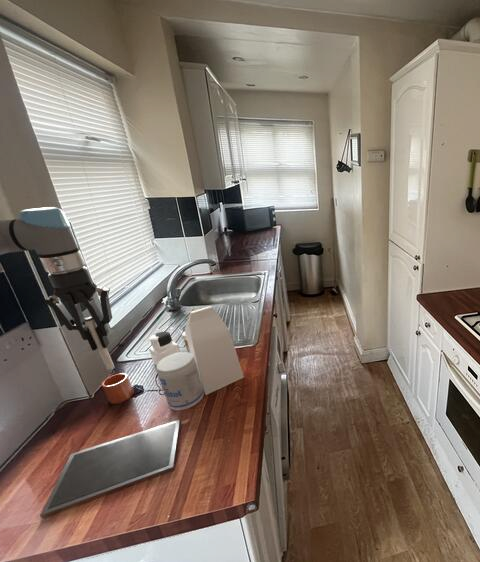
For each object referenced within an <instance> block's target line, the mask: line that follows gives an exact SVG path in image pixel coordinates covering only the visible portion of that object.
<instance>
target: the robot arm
mask: <svg viewBox="0 0 480 562" xmlns="http://www.w3.org/2000/svg"><path fill="white" fill-rule="evenodd" d="M18 216H19V218H16V219H15V218H14V219H1V220H0V256H3V255H5V254H10V253H17V252H29V251H35V253H36V254H37V256H38V258H39V260H40V262H41V265H42V266H43V269H44V271H45V272H46V273H48V274H47V278H48V279H49V282H50V284H51V286H52V288H53V290H54V291H53V295H50V296H48V297H47V298H46V299H44V300H43V302H44V304H46V305H47V306H48V307H50V308H51V309H52V310H53V311H54V313H55V315H57V317H58V318H59V320H60V321H61V322H62V324H63V325H64V326H65V328H66V329H67V330H68V331H78V332H79V334H80V336H81V339H82V340H83V341H87V342H88V344H89V347H90V349H91V351H92V352H93V351H94V352H95V351H96V350H98V349H97V347H96V344H95V342H94V340H93V338H92V336H91V333H90V331H89V329H88V327H87V324H86V322H85V320H84V319H85V316H84V313H83V310H82V307H81V304H83V306H84V307H86V309H87V311H88V312H89V314H90V317H92V318H93V319H94V321H95V323H96V325H97V326H96V327H95V331H96V333H97V335H98V337H99V340H100V342H101V344H102V347H103V348H107V349H108V346H109V345H110V340H109V338H108V335H109V333H110V330H109V328H108V326H107V324H109V323H111V321H112V320H113V312H112V308H111V302H110V297H109V294H110V291H111V289H110V287H108V286H106V287H100V286H98V285H97V284H96V283H94V281H93V279H92V277H91V276H92V275H91V273H90V271H89V268H88V267H86V266H85V265H86V261H85V259H84V257H83V254H82V252H81V249H80V247H79V244H78V242H77V240H76V238H75V235H74V233H73V230H72V227H71V224H70V223H69V221H68V218H67V217H66V215H65V213H64V211H63V210H62V209H61V208H60V207H59V208H58V207H55V206H49V207H47V206H45V207H36V208H26V209H22V210H20V211H19V213H18ZM96 293H97V296H99V303H100V307H101V310H100V309H99V307H98V305H97V303H96V300H95V298H94V296H95V294H96ZM61 300H62V301H64V302H66V303H67V306H68V308H69V309H70V312H71V313H70V312H69V311H68V309H67V308H66V307H65V305H64V303H63V302H61Z"/></svg>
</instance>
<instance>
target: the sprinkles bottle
mask: <svg viewBox="0 0 480 562" xmlns="http://www.w3.org/2000/svg"><path fill="white" fill-rule="evenodd" d="M181 338H182V340H183V341H184V344H185V348H186V352H189V353H190V349H189V345H188V341H187V337H186V333H185V331H183V332H182V333H181Z"/></svg>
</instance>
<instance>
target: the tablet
mask: <svg viewBox="0 0 480 562" xmlns="http://www.w3.org/2000/svg"><path fill="white" fill-rule="evenodd" d="M181 426H182V420H181V419H176V420H173V421H171V422H167V423H164V424H161V425H157V426H155V427H151V428H147V429H145V430H142V431H139V432H135V433H132V434H130V435H126V436H123V437H119V438H117V439H113V440H110V441H107V442H104V443H101V444H96V445H93V446H91V447H87V448H84V449H82V450H77V451H75V452H72V453H71V454H70V455H69V457H68V458H67V461H66V462H65V464H64V467H63V469H62V470H61V473H60V475H59V477H58V478H57V481H56V483H55V484H54V487H53V489H52V491H51V493H50V494H49V496H48V499H47V500H46V502H45V505H44V506H43V508H42V510H41V512H40V514H39V517H40V518H41V520H42V519H45V518H49V517H51V516H53V515H56V514H59V513H63V512H65V511H67V510H70V509H72V508H76V507H78V506H80V505H83V504H86V503H89V502H91V501H94V500H97V499H99V498H103V497H105V496H108V495H111V494H113V493H116V492H119V491H122V490H125V489H128V488H129V487H133V486H135V485H138V484H140V483H144V482H146V481H149V480H151V479H153V478H157V477H160V476H162V475H164V474H168V473H170V472H172V471H175V469H176V462H177V455H178V447H179V441H180V435H181V428H182V427H181Z"/></svg>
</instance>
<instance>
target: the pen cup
mask: <svg viewBox="0 0 480 562" xmlns="http://www.w3.org/2000/svg"><path fill="white" fill-rule="evenodd" d="M101 386H102V389H103V390H104V393H105V395H106V397H107V399H108V402H109V403H110V404H120V403H123V402H125V401H128V400H129V399H130V398H132V397H133V395H134V394H135V390H134V388H133V385H132V382H131V380H130V378H129V376H128V374H127V373H125V372H120V373H115V374H112V375H111V376H108V377H107V378H105V379H104V380H103V381H102V382H101Z"/></svg>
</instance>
